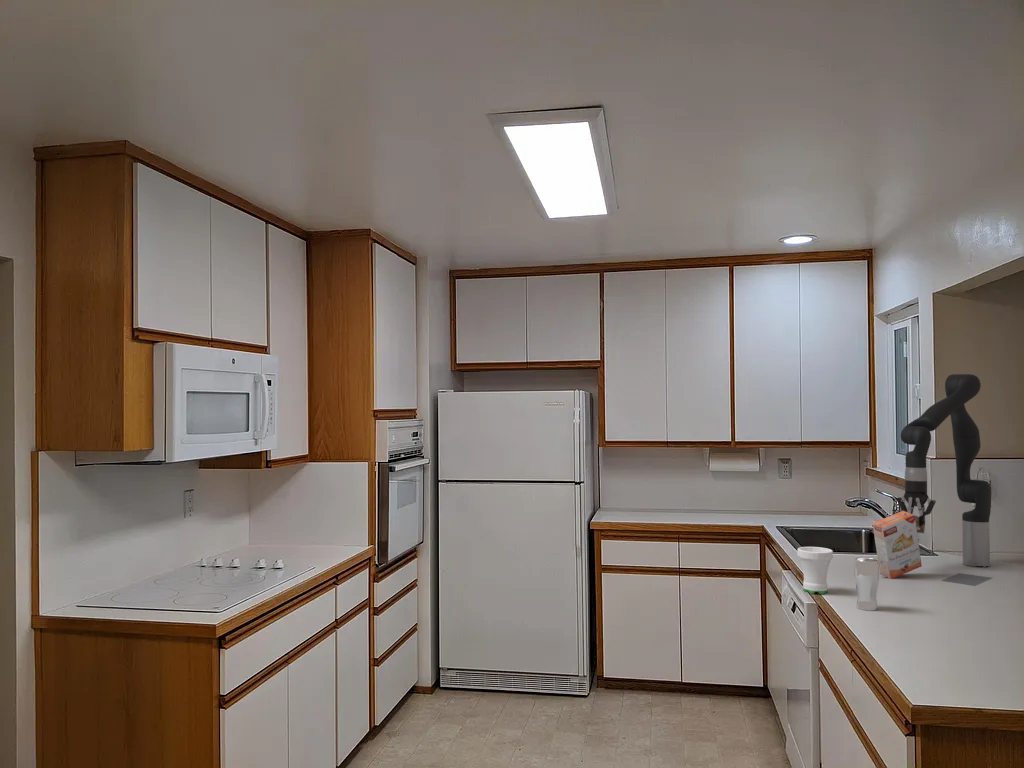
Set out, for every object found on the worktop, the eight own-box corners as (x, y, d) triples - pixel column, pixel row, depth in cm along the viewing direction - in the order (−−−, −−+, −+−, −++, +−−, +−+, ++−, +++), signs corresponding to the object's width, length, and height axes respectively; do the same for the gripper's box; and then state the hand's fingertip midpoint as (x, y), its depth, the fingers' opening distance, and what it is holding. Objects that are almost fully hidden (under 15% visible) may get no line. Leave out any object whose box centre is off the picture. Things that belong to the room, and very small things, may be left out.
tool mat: (959, 574, 299) (959, 573, 299) (992, 579, 291) (992, 577, 291) (940, 582, 286) (940, 580, 286) (975, 587, 278) (975, 585, 278)
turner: (910, 531, 309) (911, 518, 310) (929, 533, 304) (930, 520, 305) (893, 524, 298) (894, 510, 299) (912, 526, 293) (914, 512, 294)
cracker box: (891, 580, 289) (882, 527, 285) (879, 574, 295) (870, 522, 290) (923, 566, 292) (915, 514, 288) (911, 561, 298) (902, 509, 294)
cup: (836, 596, 264) (835, 553, 265) (800, 595, 267) (800, 551, 267) (829, 589, 275) (829, 547, 276) (795, 587, 278) (795, 546, 278)
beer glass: (858, 604, 254) (858, 556, 255) (882, 608, 250) (881, 559, 250) (851, 608, 249) (851, 559, 249) (875, 612, 245) (875, 562, 245)
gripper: (939, 480, 302) (939, 526, 302) (900, 477, 312) (900, 522, 312) (932, 481, 297) (932, 528, 296) (892, 478, 307) (892, 524, 307)
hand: (916, 525), depth 304 cm, fingers closed on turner, 3 cm apart
